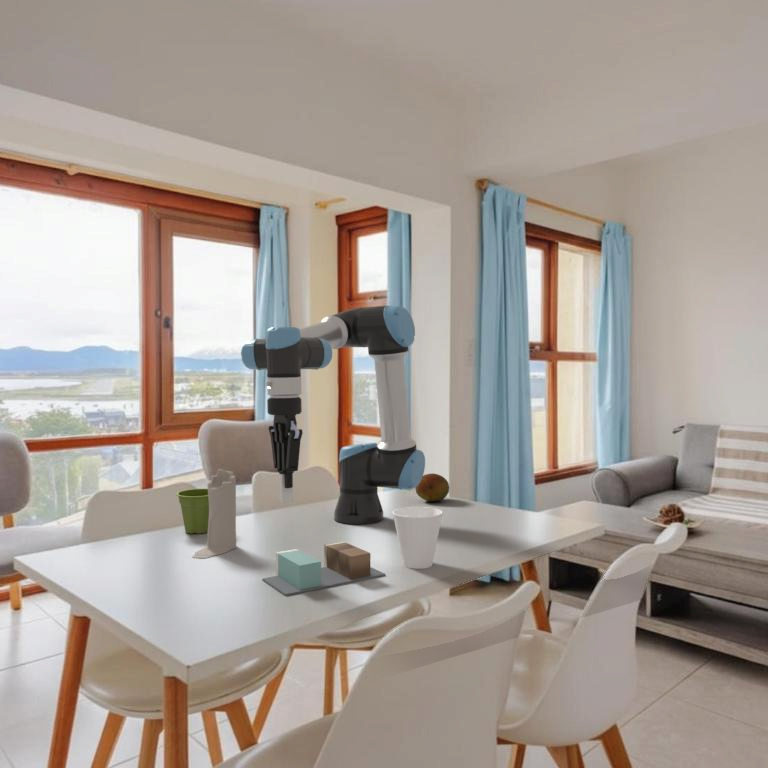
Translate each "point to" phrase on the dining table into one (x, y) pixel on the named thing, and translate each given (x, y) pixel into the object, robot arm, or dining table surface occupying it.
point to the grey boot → (220, 515)
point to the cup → (417, 534)
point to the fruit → (432, 487)
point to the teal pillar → (298, 569)
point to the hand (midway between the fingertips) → (286, 501)
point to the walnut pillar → (347, 560)
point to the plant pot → (195, 510)
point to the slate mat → (327, 580)
